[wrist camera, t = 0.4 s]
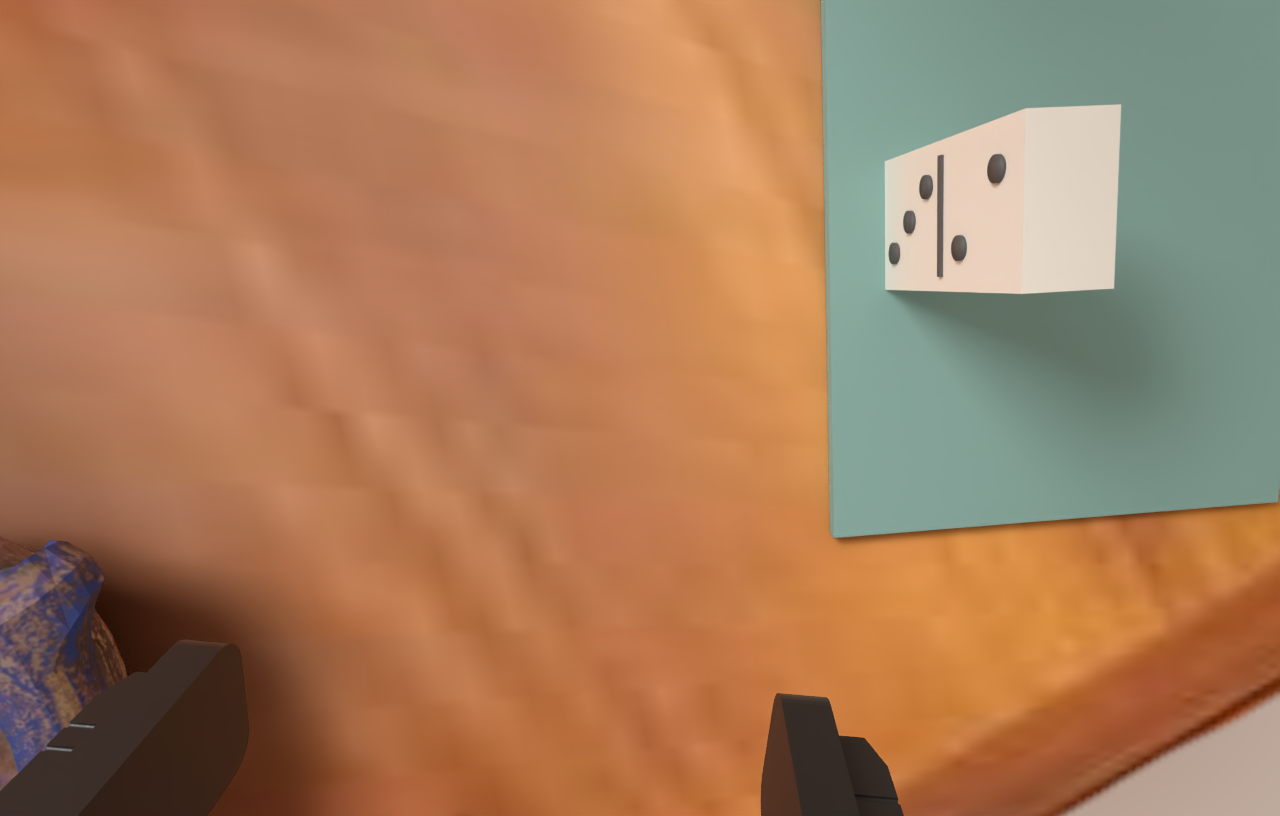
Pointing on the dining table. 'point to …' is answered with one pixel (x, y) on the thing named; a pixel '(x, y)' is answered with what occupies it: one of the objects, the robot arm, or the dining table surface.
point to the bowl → (48, 647)
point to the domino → (1008, 206)
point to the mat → (1070, 320)
